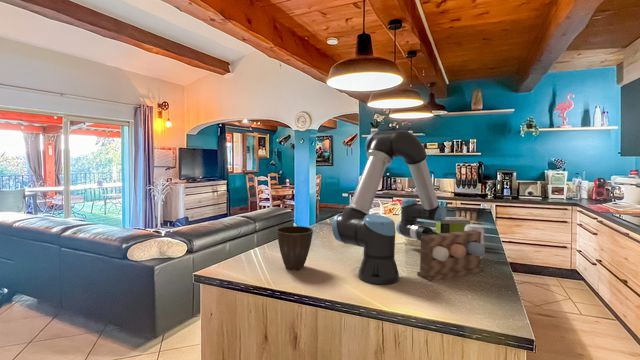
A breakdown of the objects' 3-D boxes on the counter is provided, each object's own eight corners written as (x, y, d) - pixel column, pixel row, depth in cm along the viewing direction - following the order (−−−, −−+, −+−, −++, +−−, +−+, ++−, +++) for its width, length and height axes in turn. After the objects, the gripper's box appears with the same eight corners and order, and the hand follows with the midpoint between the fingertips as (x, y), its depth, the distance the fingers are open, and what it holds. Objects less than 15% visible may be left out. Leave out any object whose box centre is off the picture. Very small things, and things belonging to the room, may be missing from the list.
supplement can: (477, 255, 160) (478, 224, 159) (486, 260, 151) (487, 227, 150) (460, 255, 159) (461, 223, 158) (468, 260, 151) (469, 227, 150)
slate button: (475, 257, 130) (476, 244, 129) (457, 251, 138) (457, 239, 138) (484, 255, 132) (485, 243, 132) (466, 250, 140) (466, 238, 140)
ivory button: (438, 262, 123) (438, 248, 123) (421, 255, 131) (421, 243, 131) (448, 260, 125) (448, 247, 125) (430, 254, 134) (431, 241, 133)
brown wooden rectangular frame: (430, 281, 124) (431, 239, 123) (417, 275, 130) (418, 235, 129) (482, 271, 136) (484, 232, 135) (468, 266, 142) (469, 229, 141)
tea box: (463, 243, 181) (464, 216, 180) (470, 248, 171) (471, 220, 170) (435, 242, 183) (435, 216, 182) (439, 247, 173) (440, 219, 172)
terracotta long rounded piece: (456, 259, 127) (456, 246, 127) (438, 253, 135) (438, 240, 135) (465, 257, 129) (466, 244, 129) (447, 251, 137) (448, 239, 137)
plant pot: (317, 263, 144) (317, 227, 143) (306, 275, 130) (306, 234, 129) (284, 260, 148) (284, 225, 147) (270, 271, 134) (270, 232, 133)
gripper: (431, 239, 163) (472, 251, 142) (411, 242, 158) (450, 255, 137) (432, 224, 163) (473, 234, 142) (411, 226, 157) (450, 237, 136)
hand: (461, 244), depth 139 cm, fingers closed
